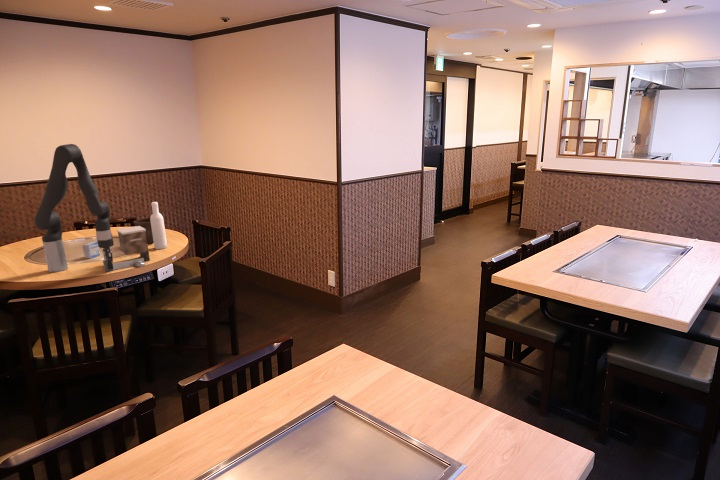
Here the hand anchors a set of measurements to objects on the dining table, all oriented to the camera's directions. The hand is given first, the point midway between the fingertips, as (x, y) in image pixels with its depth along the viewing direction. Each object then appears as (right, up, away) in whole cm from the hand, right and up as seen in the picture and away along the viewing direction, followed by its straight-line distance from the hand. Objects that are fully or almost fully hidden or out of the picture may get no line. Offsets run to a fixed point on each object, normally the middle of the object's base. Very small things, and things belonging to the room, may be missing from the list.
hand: (110, 268), depth 260 cm
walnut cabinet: (+6, +3, +18) cm, 19 cm away
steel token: (+14, +1, +7) cm, 15 cm away
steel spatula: (+6, 0, +5) cm, 8 cm away
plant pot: (-4, +13, +58) cm, 60 cm away
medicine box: (-27, +5, +30) cm, 40 cm away
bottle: (+9, +10, +45) cm, 47 cm away
